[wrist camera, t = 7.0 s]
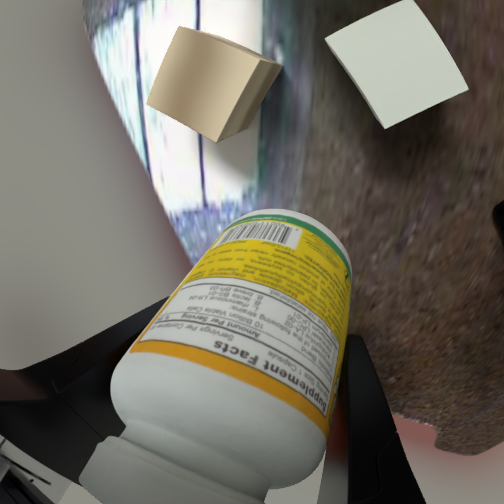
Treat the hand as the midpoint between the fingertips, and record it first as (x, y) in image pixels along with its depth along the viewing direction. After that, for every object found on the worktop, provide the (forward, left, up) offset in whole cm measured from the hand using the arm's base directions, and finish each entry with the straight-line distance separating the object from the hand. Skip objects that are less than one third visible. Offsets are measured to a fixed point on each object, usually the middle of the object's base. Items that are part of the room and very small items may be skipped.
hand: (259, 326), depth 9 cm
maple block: (+9, -1, -13) cm, 16 cm away
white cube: (+3, -9, -13) cm, 16 cm away
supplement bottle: (0, 0, -3) cm, 3 cm away
